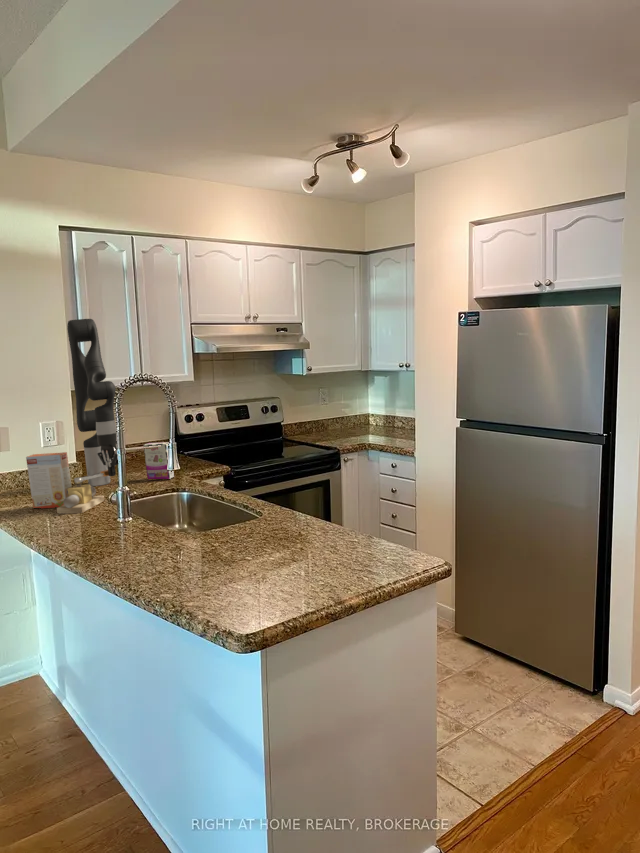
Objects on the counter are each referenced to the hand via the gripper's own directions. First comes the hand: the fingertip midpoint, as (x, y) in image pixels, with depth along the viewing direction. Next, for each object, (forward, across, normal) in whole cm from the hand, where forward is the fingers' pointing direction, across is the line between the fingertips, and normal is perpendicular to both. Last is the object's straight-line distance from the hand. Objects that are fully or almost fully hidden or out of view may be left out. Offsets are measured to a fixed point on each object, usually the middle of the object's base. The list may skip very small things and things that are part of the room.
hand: (112, 475), depth 248 cm
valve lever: (0, +3, +6) cm, 7 cm away
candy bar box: (+10, +12, -33) cm, 36 cm away
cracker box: (+10, +16, +17) cm, 25 cm away
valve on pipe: (+10, +4, +13) cm, 16 cm away
